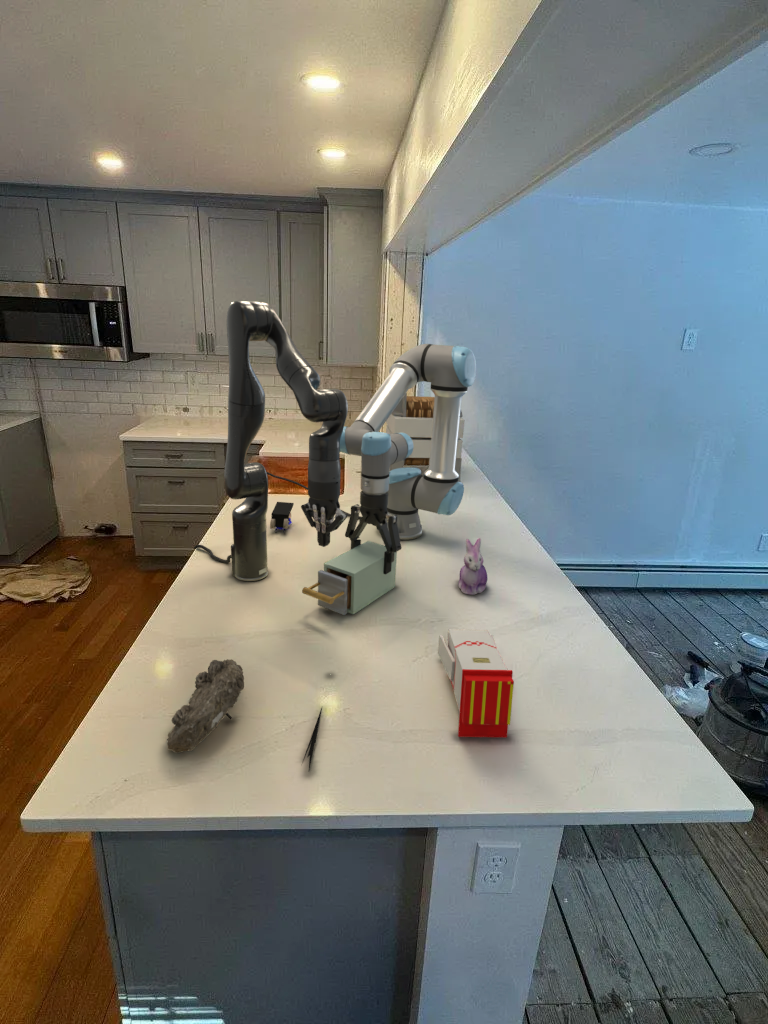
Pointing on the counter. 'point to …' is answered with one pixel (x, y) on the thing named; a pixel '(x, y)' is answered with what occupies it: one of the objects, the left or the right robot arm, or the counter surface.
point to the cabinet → (365, 573)
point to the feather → (313, 740)
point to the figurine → (473, 570)
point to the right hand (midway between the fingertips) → (371, 567)
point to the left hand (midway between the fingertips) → (323, 545)
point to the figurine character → (281, 516)
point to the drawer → (332, 591)
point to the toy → (478, 682)
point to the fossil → (206, 705)
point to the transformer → (419, 430)
